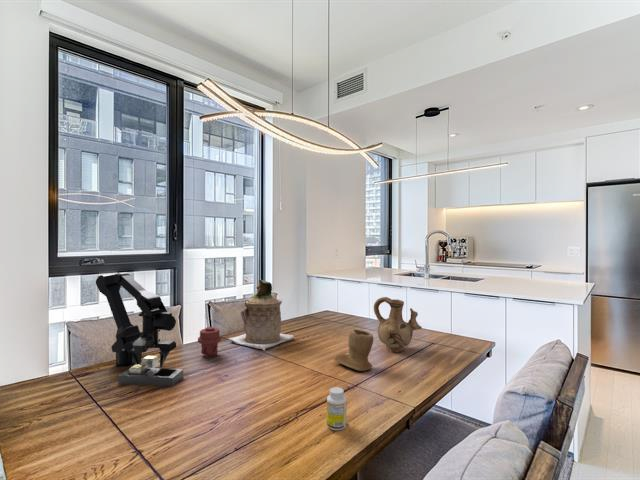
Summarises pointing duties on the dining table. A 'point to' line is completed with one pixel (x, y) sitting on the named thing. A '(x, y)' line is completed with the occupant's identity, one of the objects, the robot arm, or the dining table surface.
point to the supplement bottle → (336, 409)
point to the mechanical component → (209, 341)
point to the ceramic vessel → (395, 325)
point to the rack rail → (152, 377)
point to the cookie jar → (262, 320)
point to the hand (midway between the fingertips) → (150, 366)
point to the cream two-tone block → (150, 361)
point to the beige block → (138, 369)
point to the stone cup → (357, 351)
